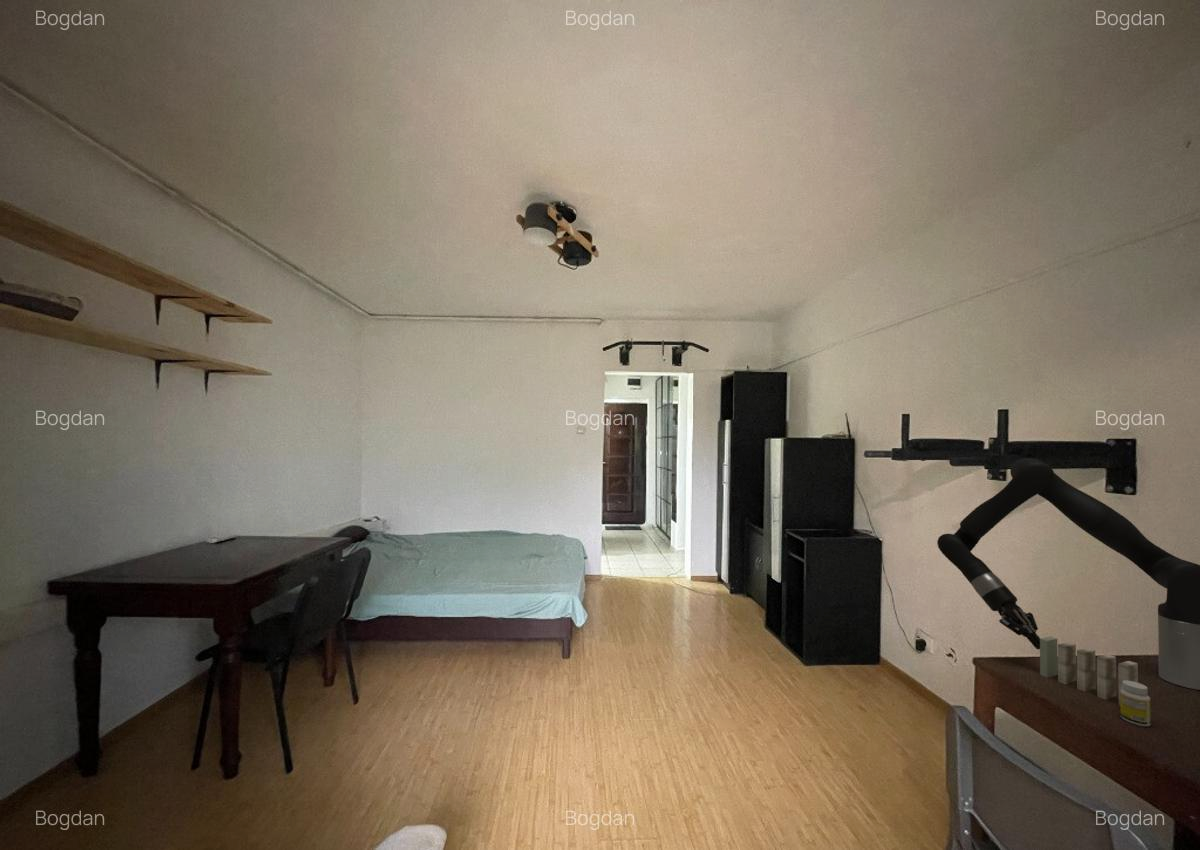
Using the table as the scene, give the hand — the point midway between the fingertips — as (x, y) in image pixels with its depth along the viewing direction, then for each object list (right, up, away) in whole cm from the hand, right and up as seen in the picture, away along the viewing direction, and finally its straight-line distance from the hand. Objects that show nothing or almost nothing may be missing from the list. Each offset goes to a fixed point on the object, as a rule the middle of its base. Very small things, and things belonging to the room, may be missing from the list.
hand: (1042, 647), depth 136 cm
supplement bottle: (0, -6, -24) cm, 25 cm away
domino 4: (+5, -6, -13) cm, 15 cm away
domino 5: (+6, -6, -17) cm, 19 cm away
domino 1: (0, -7, -2) cm, 7 cm away
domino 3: (+3, -7, -9) cm, 12 cm away
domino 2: (+2, -7, -6) cm, 9 cm away
